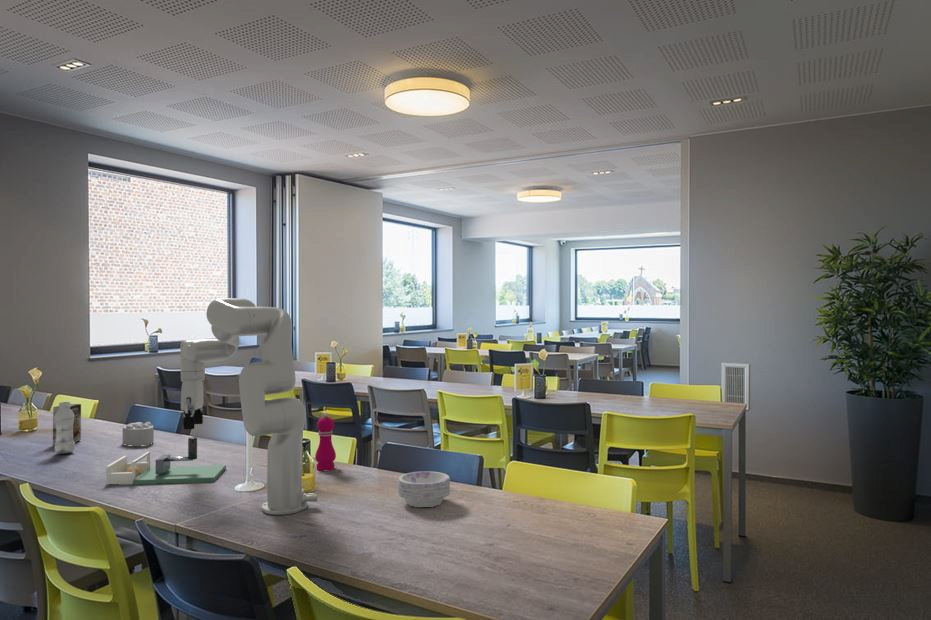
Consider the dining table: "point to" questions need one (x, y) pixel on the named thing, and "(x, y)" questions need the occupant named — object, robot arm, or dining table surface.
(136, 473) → the ball
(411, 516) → the dining table surface
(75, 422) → the coffee box
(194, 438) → the grey mallet
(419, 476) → the paper bowls
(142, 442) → the lumpy-topped squat cylinder
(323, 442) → the pepper mill
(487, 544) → the dining table surface
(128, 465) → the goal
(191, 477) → the pitch board
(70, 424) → the plastic bottle
